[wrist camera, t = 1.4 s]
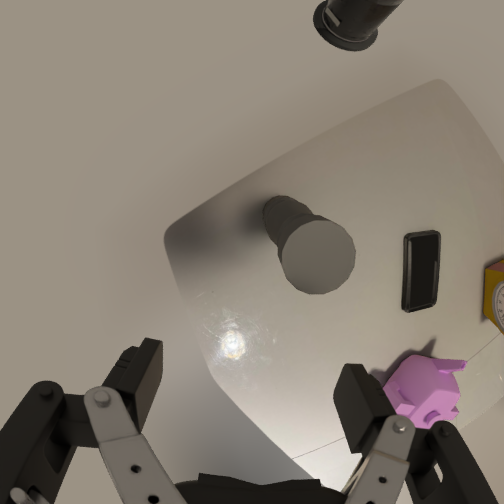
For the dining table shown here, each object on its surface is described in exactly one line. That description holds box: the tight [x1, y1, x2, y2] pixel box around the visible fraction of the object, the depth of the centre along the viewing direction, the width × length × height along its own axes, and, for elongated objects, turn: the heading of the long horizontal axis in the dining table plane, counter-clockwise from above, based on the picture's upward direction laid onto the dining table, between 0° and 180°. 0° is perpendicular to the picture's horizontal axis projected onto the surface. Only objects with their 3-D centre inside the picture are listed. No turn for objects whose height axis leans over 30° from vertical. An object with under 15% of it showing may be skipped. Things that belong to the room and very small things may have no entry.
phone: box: [402, 230, 441, 313], centre depth 47 cm, size 8×1×15 cm
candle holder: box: [263, 196, 356, 294], centre depth 33 cm, size 6×6×25 cm
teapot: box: [383, 355, 467, 429], centre depth 47 cm, size 19×18×15 cm
